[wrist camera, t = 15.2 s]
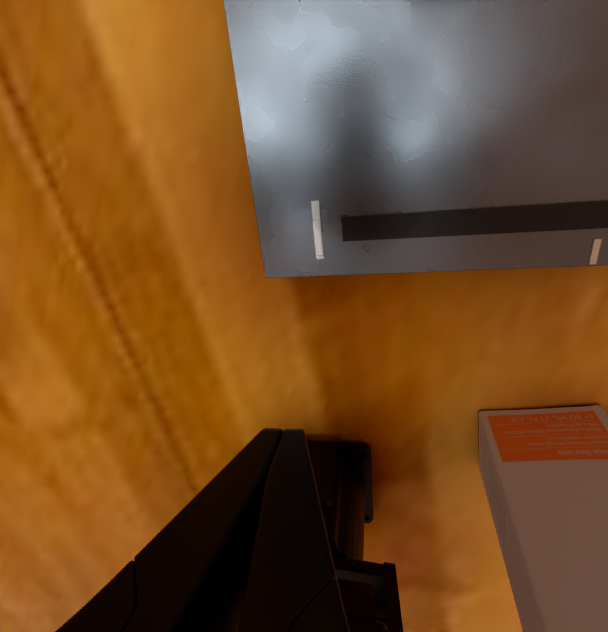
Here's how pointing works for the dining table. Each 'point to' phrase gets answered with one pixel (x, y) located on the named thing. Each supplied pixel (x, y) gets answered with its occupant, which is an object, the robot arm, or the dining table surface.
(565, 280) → the dining table surface
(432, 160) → the console
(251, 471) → the robot arm
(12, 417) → the dining table surface
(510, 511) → the skincare box
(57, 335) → the dining table surface
